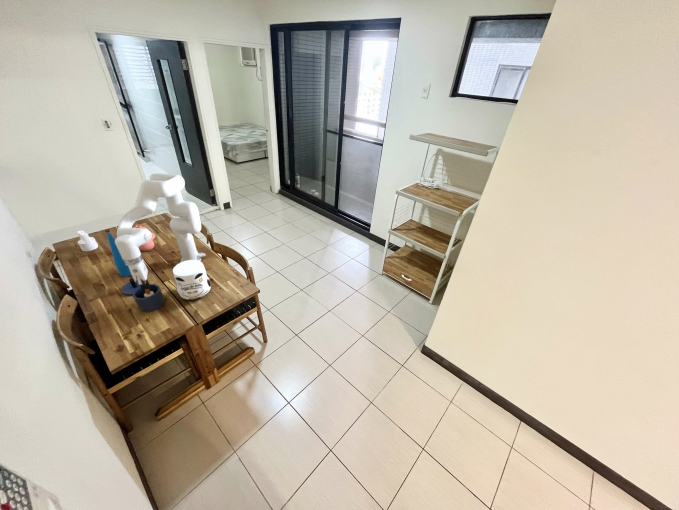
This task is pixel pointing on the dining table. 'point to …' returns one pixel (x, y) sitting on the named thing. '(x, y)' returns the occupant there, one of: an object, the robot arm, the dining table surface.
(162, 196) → the robot arm
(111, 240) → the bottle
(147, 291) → the brush
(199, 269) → the milk container
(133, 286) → the tin lid
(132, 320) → the dining table surface
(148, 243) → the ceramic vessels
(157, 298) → the tin
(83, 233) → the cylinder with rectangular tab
